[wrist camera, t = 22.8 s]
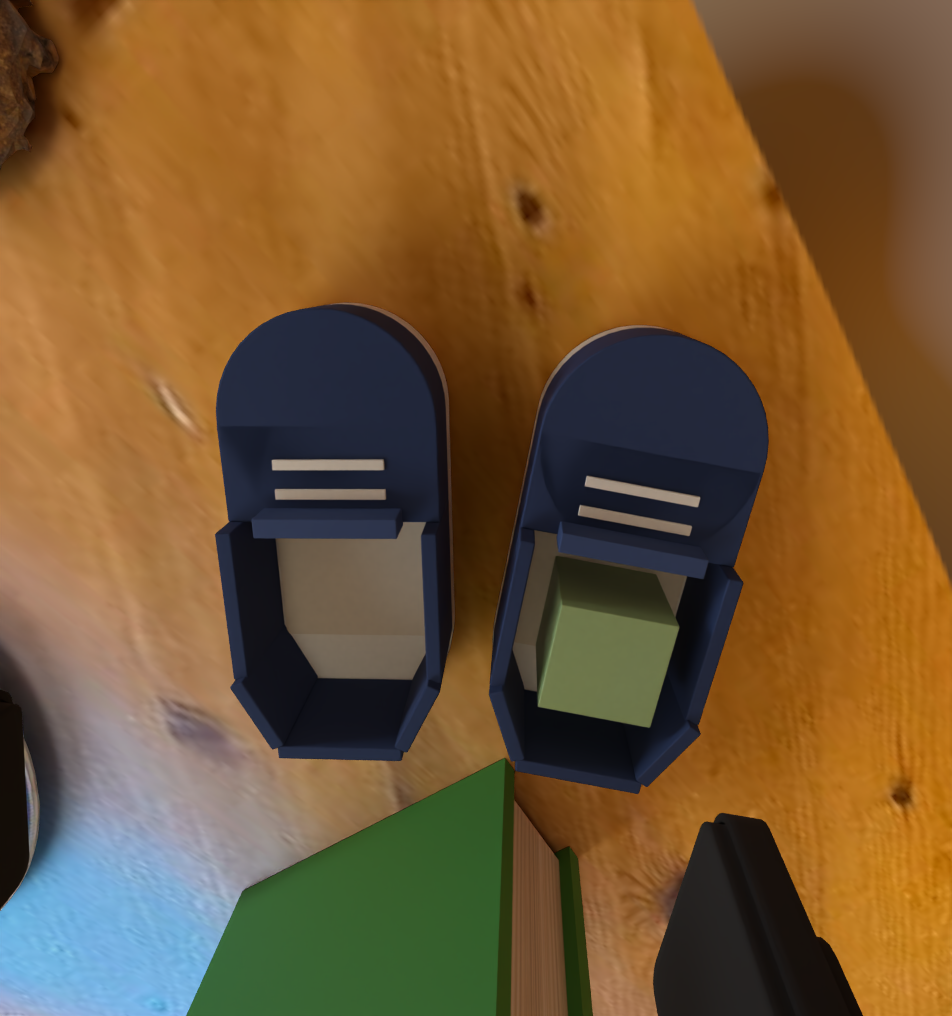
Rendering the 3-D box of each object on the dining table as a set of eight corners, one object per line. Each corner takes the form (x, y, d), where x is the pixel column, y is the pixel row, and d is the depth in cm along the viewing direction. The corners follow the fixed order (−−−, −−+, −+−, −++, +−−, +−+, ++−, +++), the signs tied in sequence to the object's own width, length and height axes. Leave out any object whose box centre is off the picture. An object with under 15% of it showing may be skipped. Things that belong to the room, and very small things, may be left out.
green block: (555, 554, 33) (561, 604, 28) (656, 574, 33) (680, 626, 28) (535, 645, 35) (537, 707, 30) (632, 663, 35) (650, 728, 30)
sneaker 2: (558, 307, 31) (567, 317, 25) (757, 345, 31) (819, 364, 25) (479, 691, 37) (470, 781, 31) (647, 723, 37) (674, 820, 31)
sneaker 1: (249, 303, 32) (178, 312, 26) (446, 300, 32) (426, 308, 25) (289, 688, 38) (241, 776, 31) (457, 691, 37) (443, 780, 31)
